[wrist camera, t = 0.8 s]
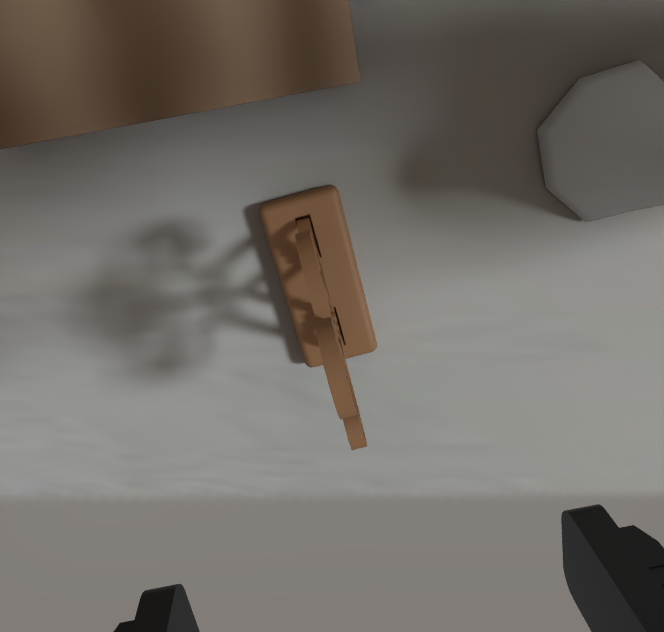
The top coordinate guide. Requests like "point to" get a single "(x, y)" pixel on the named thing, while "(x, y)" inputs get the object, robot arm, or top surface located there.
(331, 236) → the gingerbread man figurine
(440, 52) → the top surface
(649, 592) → the robot arm
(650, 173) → the flask
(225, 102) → the walnut plinth
